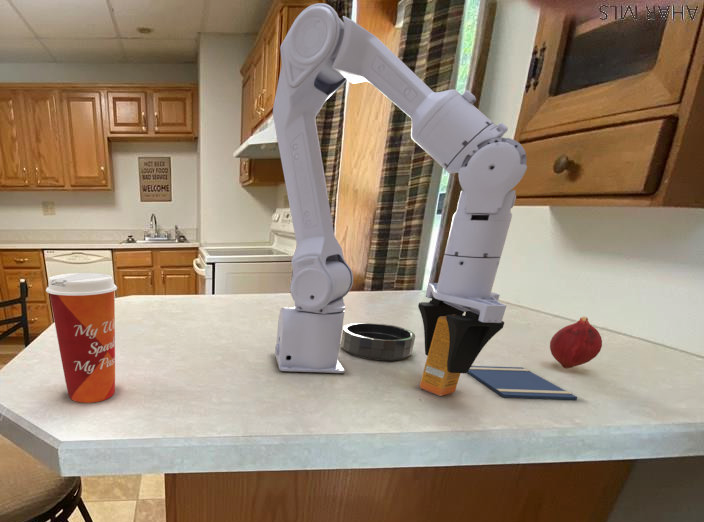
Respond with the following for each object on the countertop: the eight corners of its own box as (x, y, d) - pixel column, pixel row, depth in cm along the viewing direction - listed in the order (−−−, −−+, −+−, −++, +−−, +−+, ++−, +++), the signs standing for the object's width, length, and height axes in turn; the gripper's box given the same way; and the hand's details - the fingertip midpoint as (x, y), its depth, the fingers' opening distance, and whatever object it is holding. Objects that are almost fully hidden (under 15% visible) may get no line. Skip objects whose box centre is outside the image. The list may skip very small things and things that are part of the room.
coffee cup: (92, 412, 50) (80, 284, 44) (45, 397, 54) (28, 278, 48) (137, 389, 57) (131, 275, 51) (92, 376, 61) (82, 270, 55)
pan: (350, 360, 68) (353, 339, 67) (334, 340, 78) (336, 322, 77) (422, 362, 67) (427, 341, 66) (396, 342, 77) (400, 323, 76)
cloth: (503, 397, 55) (504, 393, 55) (460, 367, 65) (461, 364, 65) (576, 400, 54) (577, 396, 54) (521, 369, 64) (522, 366, 64)
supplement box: (442, 397, 55) (461, 322, 51) (418, 388, 58) (435, 316, 54) (458, 393, 56) (478, 319, 52) (434, 384, 59) (451, 313, 55)
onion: (600, 376, 62) (622, 323, 59) (556, 373, 63) (575, 320, 60) (576, 363, 67) (595, 313, 64) (535, 360, 68) (552, 311, 65)
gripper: (550, 263, 43) (511, 385, 48) (474, 250, 56) (449, 347, 62) (478, 262, 44) (447, 383, 49) (419, 249, 57) (400, 346, 62)
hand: (444, 363), depth 55 cm, fingers open, 6 cm apart
